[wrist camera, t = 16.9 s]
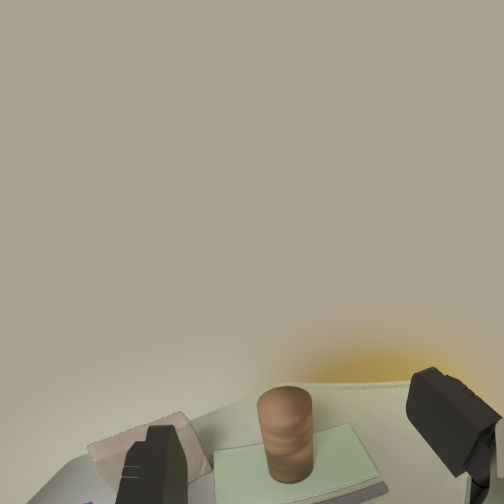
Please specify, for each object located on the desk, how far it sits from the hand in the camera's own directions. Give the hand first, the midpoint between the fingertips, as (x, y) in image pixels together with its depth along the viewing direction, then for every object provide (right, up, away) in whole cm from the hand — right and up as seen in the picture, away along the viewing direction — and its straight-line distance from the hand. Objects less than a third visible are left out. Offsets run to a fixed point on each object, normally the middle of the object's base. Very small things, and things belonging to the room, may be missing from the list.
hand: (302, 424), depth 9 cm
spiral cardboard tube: (+3, -19, +20) cm, 28 cm away
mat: (+3, -20, +21) cm, 29 cm away
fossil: (-12, -22, +19) cm, 32 cm away
